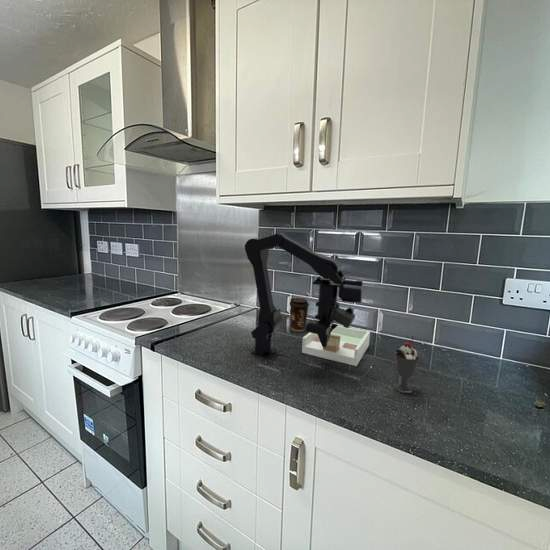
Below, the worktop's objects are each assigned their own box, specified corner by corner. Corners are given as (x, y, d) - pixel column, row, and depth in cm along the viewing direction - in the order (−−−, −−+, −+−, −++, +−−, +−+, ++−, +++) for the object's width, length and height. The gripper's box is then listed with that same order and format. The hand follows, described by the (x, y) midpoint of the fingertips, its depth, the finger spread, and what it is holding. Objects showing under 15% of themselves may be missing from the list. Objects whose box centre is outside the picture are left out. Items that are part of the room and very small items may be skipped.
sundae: (415, 385, 84) (421, 335, 82) (417, 398, 78) (424, 344, 76) (390, 381, 86) (395, 331, 84) (390, 392, 80) (396, 340, 78)
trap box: (356, 366, 95) (357, 349, 94) (301, 352, 104) (302, 337, 103) (368, 345, 112) (370, 331, 112) (321, 335, 121) (322, 322, 120)
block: (335, 352, 99) (336, 340, 98) (322, 349, 101) (323, 337, 100) (339, 348, 103) (340, 335, 102) (327, 345, 105) (327, 333, 104)
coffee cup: (284, 326, 130) (285, 297, 128) (300, 324, 134) (302, 296, 132) (293, 333, 123) (295, 302, 121) (311, 330, 126) (312, 301, 124)
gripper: (345, 310, 80) (340, 364, 83) (360, 297, 96) (356, 342, 99) (306, 304, 85) (304, 355, 88) (327, 292, 102) (324, 336, 104)
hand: (324, 346), depth 95 cm, fingers closed
